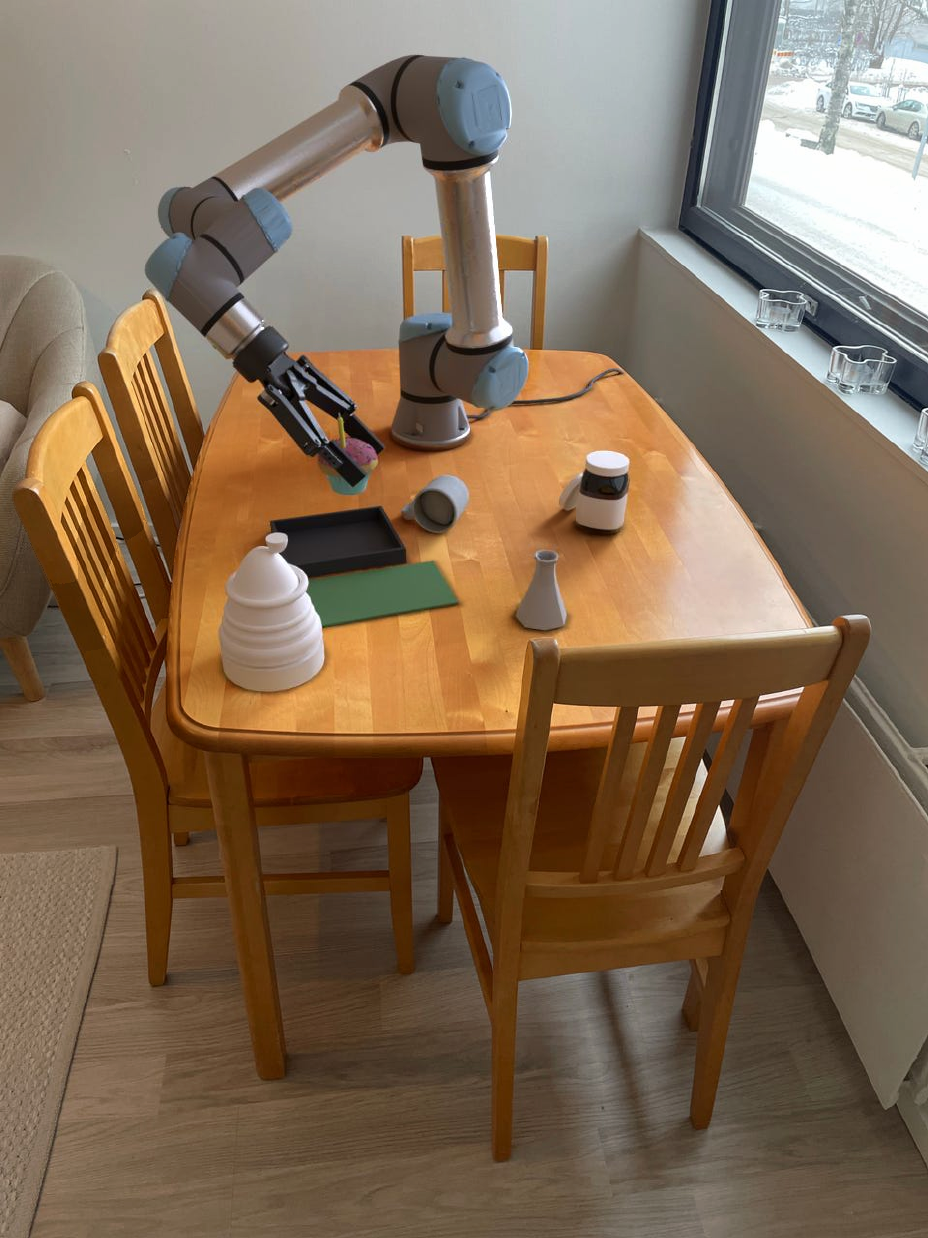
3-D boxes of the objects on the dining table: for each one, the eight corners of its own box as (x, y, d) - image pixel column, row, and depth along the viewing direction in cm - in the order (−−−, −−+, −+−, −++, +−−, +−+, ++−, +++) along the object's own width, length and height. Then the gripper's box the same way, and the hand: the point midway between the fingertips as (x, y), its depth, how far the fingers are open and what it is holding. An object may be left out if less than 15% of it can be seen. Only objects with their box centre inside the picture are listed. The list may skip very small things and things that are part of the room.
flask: (512, 603, 130) (515, 542, 124) (562, 602, 131) (568, 541, 125) (518, 632, 124) (523, 570, 119) (571, 631, 125) (578, 568, 119)
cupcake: (368, 504, 126) (364, 422, 119) (309, 497, 127) (303, 415, 121) (385, 478, 133) (383, 399, 126) (329, 472, 134) (324, 393, 128)
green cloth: (433, 562, 139) (433, 560, 139) (458, 604, 130) (458, 601, 129) (302, 583, 133) (302, 580, 133) (319, 628, 124) (319, 625, 124)
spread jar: (617, 543, 145) (626, 476, 139) (548, 530, 148) (553, 464, 142) (630, 510, 155) (639, 446, 148) (565, 499, 158) (571, 435, 151)
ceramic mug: (471, 514, 152) (472, 472, 148) (456, 537, 146) (456, 493, 141) (412, 505, 155) (410, 463, 150) (394, 527, 148) (392, 483, 144)
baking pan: (381, 518, 150) (381, 505, 149) (406, 562, 139) (406, 548, 137) (270, 534, 145) (269, 520, 144) (287, 581, 134) (285, 566, 132)
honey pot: (324, 629, 124) (315, 511, 114) (324, 688, 113) (314, 564, 103) (228, 634, 122) (209, 515, 112) (218, 694, 112) (197, 569, 102)
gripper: (263, 337, 132) (373, 451, 138) (198, 387, 114) (328, 516, 121) (295, 302, 128) (407, 422, 134) (233, 349, 110) (365, 484, 117)
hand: (369, 466), depth 128 cm, fingers closed on cupcake, 9 cm apart
